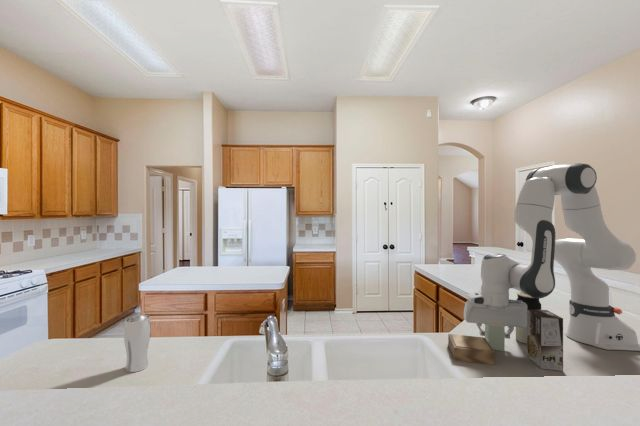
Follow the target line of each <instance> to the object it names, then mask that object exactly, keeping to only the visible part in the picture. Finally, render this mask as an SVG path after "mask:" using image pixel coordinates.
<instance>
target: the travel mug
mask: <svg viewBox="0 0 640 426" xmlns="http://www.w3.org/2000/svg"><path fill="white" fill-rule="evenodd" d="M516 295H517V298H516V300H521V301H523V302H525V303H526V304H527V309H531V310H542V304H541V302H540V298H534V297H531V296H529V295H527V294H525V293H524V292H521V291H517V292H516ZM522 304H524V303H522ZM526 314H527V312H526ZM515 340H516V341H518V342H520V343H522V344H524V345H528V343H527V327H526V328H521V327H515Z"/></svg>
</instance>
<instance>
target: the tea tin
mask: <svg viewBox="0 0 640 426" xmlns="http://www.w3.org/2000/svg"><path fill="white" fill-rule="evenodd" d="M505 327H506V326H505V325H504V324H496V323H488V324H484V331H485V336H484V338H485V339H486V340H487V342H488V343H489V345H490V346H491V348H492V349H493V350H494V351H505V350H506V349H505V340H506V338H505V332H506V329H505Z"/></svg>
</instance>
